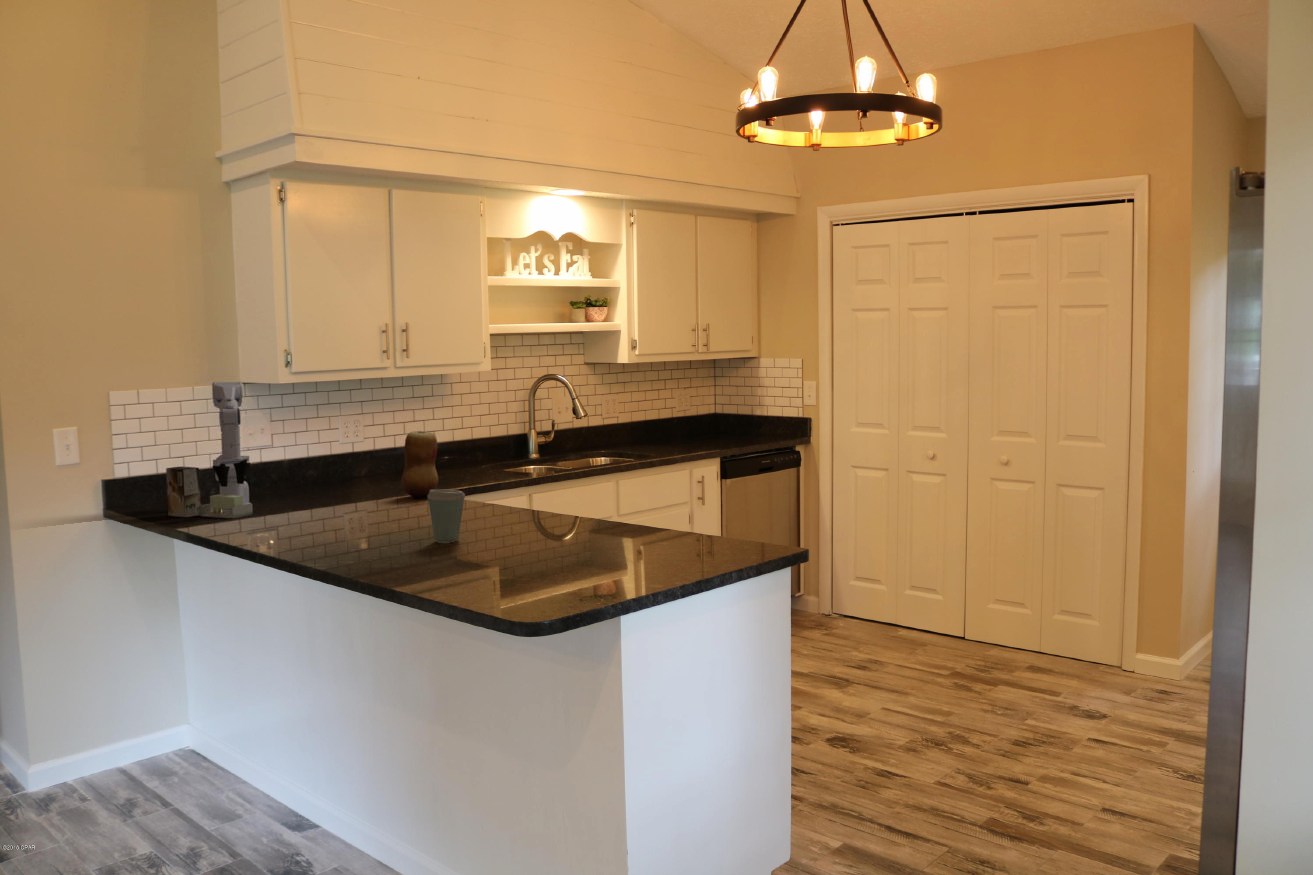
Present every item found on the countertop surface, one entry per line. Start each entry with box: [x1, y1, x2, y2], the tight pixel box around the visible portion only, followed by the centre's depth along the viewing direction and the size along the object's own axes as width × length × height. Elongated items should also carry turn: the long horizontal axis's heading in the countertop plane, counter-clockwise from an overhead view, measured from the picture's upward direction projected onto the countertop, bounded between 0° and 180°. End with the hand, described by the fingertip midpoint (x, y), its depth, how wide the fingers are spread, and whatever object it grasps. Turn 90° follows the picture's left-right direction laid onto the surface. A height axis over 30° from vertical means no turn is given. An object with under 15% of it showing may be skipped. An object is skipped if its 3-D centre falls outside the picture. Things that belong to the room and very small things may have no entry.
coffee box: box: [165, 466, 202, 518], centre depth 335 cm, size 9×6×16 cm
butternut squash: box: [400, 430, 439, 499], centre depth 377 cm, size 14×13×25 cm
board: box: [209, 494, 243, 510], centre depth 336 cm, size 10×4×4 cm, turn 71°
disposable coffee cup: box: [427, 489, 466, 544], centre depth 287 cm, size 11×11×15 cm
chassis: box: [198, 503, 253, 519], centre depth 336 cm, size 14×9×4 cm, turn 71°
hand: (232, 485), depth 338 cm, fingers open, 7 cm apart
